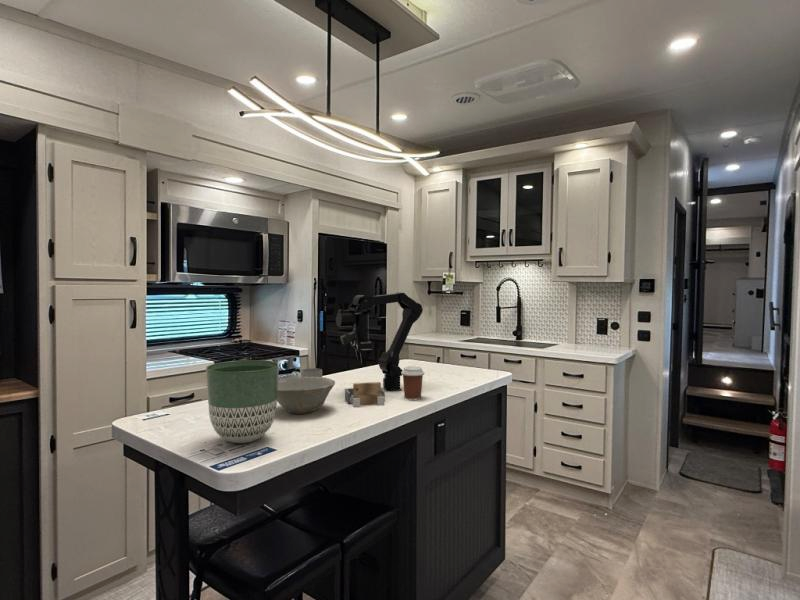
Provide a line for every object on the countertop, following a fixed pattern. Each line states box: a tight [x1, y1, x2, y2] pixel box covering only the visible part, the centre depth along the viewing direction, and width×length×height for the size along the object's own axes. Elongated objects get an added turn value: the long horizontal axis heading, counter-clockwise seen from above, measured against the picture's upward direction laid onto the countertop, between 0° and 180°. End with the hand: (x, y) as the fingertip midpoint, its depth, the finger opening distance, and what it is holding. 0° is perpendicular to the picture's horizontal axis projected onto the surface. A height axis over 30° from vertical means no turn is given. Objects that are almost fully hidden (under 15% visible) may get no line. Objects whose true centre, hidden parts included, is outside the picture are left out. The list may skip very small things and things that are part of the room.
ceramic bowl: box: [277, 376, 336, 415], centre depth 165 cm, size 22×23×10 cm
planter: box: [205, 359, 280, 444], centre depth 133 cm, size 20×20×21 cm
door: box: [352, 381, 382, 407], centre depth 174 cm, size 10×3×8 cm, turn 105°
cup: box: [300, 367, 323, 378], centre depth 189 cm, size 8×8×10 cm
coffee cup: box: [401, 365, 425, 401], centre depth 184 cm, size 9×9×12 cm
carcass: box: [344, 387, 386, 408], centre depth 178 cm, size 14×12×4 cm
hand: (361, 364), depth 192 cm, fingers open, 9 cm apart
